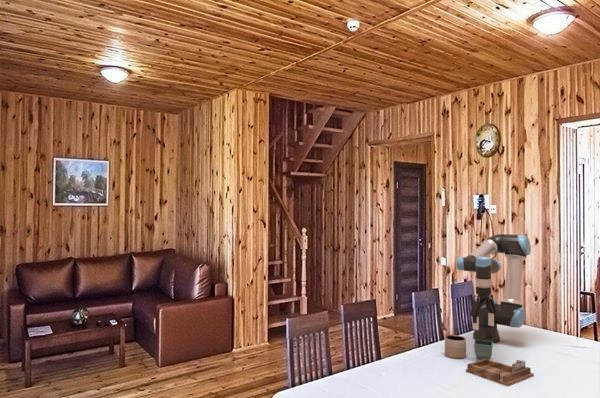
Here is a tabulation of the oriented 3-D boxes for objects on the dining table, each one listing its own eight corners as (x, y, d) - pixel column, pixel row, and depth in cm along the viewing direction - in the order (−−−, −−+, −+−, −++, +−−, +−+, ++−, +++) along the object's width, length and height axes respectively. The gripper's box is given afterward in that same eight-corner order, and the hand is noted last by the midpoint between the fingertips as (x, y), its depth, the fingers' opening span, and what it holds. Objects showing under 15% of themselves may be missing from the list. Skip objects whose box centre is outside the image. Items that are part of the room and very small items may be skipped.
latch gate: (511, 374, 203) (511, 362, 203) (522, 370, 208) (521, 358, 208) (515, 376, 202) (515, 363, 202) (526, 372, 207) (526, 359, 207)
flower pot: (492, 358, 230) (492, 341, 231) (492, 363, 222) (492, 345, 223) (475, 355, 234) (474, 339, 234) (474, 361, 226) (473, 343, 226)
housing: (465, 371, 211) (465, 364, 211) (492, 363, 223) (492, 355, 223) (507, 386, 193) (507, 377, 193) (533, 376, 206) (533, 368, 206)
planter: (444, 357, 231) (444, 339, 231) (445, 351, 241) (445, 333, 241) (466, 360, 227) (466, 341, 227) (466, 354, 237) (466, 336, 237)
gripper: (475, 289, 219) (475, 332, 218) (503, 285, 233) (503, 325, 232) (462, 287, 225) (462, 329, 225) (490, 283, 239) (490, 322, 239)
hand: (483, 327), depth 228 cm, fingers open, 13 cm apart
